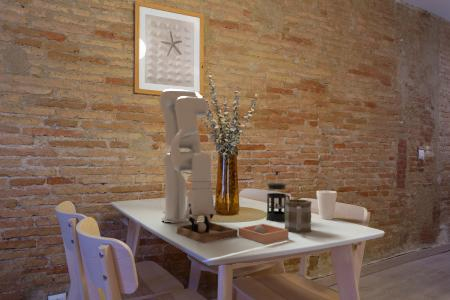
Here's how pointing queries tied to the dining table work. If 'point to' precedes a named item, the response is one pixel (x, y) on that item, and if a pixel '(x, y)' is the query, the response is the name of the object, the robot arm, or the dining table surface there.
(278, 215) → the french press
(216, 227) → the walnut tray
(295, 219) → the mug
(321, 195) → the foam cup
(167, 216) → the robot arm
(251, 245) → the dining table surface
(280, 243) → the dining table surface
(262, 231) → the grey ball
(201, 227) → the beige ball
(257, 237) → the terracotta dish
